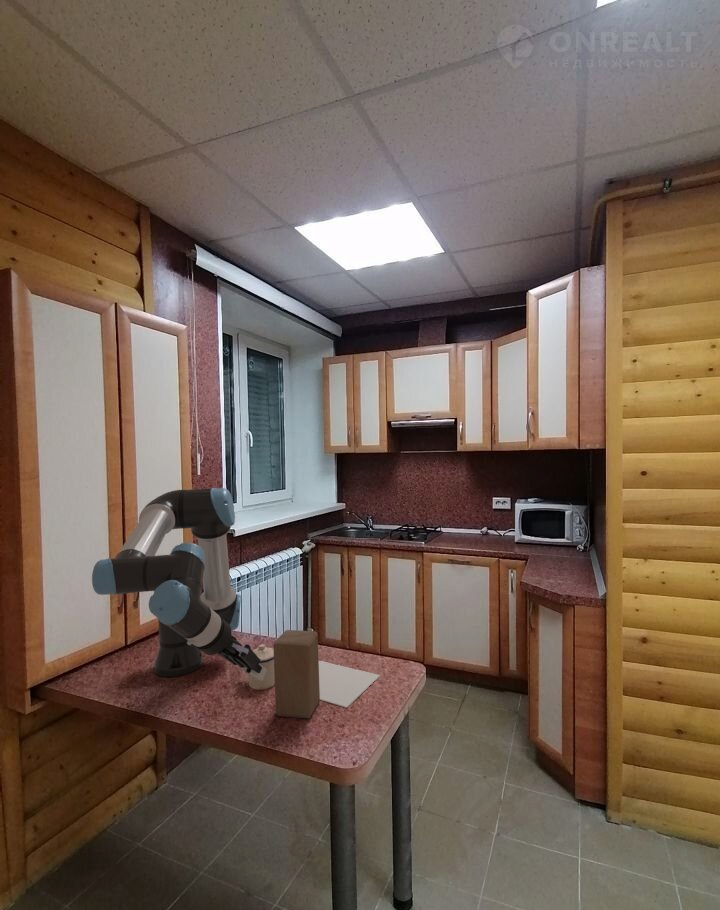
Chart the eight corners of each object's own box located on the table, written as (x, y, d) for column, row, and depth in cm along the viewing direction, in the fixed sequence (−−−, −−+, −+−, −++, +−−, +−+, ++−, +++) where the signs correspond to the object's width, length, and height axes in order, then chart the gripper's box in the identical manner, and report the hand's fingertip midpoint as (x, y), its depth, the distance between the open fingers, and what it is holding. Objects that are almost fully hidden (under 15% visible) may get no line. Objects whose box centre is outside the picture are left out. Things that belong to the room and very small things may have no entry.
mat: (279, 688, 138) (278, 687, 138) (317, 660, 155) (317, 660, 155) (346, 708, 126) (346, 707, 126) (380, 676, 143) (380, 675, 143)
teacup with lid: (283, 678, 144) (282, 641, 144) (267, 692, 135) (266, 653, 135) (250, 672, 148) (249, 637, 148) (233, 686, 140) (232, 648, 140)
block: (310, 720, 121) (307, 644, 120) (274, 717, 123) (271, 642, 123) (320, 700, 130) (318, 630, 130) (287, 697, 132) (285, 628, 132)
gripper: (177, 642, 101) (236, 684, 115) (219, 653, 94) (276, 696, 108) (196, 610, 105) (250, 655, 120) (238, 619, 99) (289, 665, 113)
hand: (262, 674), depth 114 cm, fingers closed
